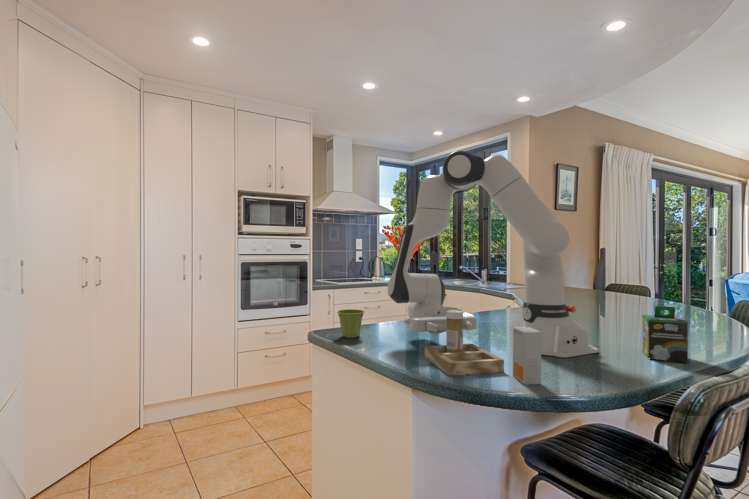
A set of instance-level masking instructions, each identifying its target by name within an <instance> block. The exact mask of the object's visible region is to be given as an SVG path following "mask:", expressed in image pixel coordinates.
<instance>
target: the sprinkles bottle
mask: <svg viewBox="0 0 749 499" xmlns="http://www.w3.org/2000/svg"><path fill="white" fill-rule="evenodd" d="M463 312H464V311H463ZM463 312H462V311H458V310H449V311H446V318H447V329H446V336H445V338H446V343H445V345H446V347H447V353H454V352H462V348H463V344H464V343H463V330H462V320H463Z"/></svg>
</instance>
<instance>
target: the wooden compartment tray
mask: <svg viewBox="0 0 749 499" xmlns="http://www.w3.org/2000/svg"><path fill="white" fill-rule="evenodd" d="M424 358H426V359H427V360H428V361H429V362H431V363H432V364H433V365H434V366H436V367H437V368H438V369H440V370H441V369H442V370H441V371H442V372H444V373H445V372H446V373H447V374H446V373H445V374H446V375H448V376H450V377H452V376H453V377H454V376H455V375H457V376H467V375H466V374H469V375H479V374H480V375H481V374H495V373H503V372H505V359H503V358H502V357H499V356H497V355H495V354H494V353H491V352H489V351H487V350H486V349H484V348H481V347H479V346H478V345H476V344H474V343H463V348H462V352H454V353H447V347H446V344H443V345H441V344H440V345H427V346H426V345H425V346H424Z"/></svg>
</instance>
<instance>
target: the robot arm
mask: <svg viewBox="0 0 749 499" xmlns="http://www.w3.org/2000/svg"><path fill="white" fill-rule="evenodd" d="M477 185H479V186H480V187H482V188H483V189H484V190H485V191H486V192H487V193H488V195H489V197H490V198H491V199H492V201H493V202H494V204H495V205H496V207H498V209H499V210H500V212H501V213H502V215H503V216H504V218H505V219H506V220H507V221H508V223H510V225H511V226H512V227H513V228H514V230H515V231H516V232H517V233H518V235H519V236H520V237H521V239H522V240H523V241H522V243H523V244H522V246H523V247H522V250H523V252H522V253H523V270H524V301H523V302H522V318H523V325H522V327H530V328H533V329H536V330H537V331H540V332H541V356H542V355H543V356H552V357H553V356H554V357H558V358H562V359H563V358H564V359H565V358H572V357H579V356H584V355H590V354H597V353H599V350H598V348H597V347H596V346H594V345H592V344H590V339H589V334H588V332H587V330H586V329H585V328H584V327H583V326H582V325H580V324H579V323H578V322H576V321H575V320H574V319H573V318H571V317H570V313H574V314H575V313H576V311H578V310H577V307H576V305H571V304H569V305H566V303H565V275H564V269H563V262H562V254H563V253H565V250H566V249H567V248H568V245H569V242H570V235H569V232H568V230H567V228H566V227H565V225H563V224H562V223H561V221H560V220H559V219H558V218H557V216H556V215H555V214H554V213H553V212H552V211H551V210H550V208H549V207H548V206H547V205H546V204H545V203H544V202H543V201H542V200H541V199H540V197H539V196H538V195H537V194H536V193H535V191H534V190H533V189H532V187H531V186H530V184H528V182H527V181H526V179H525V178H524V177H523V175H522V174H521V173H520V171H519V170H518V169H517V167H515V166H514V164H513V163H511V161H510V160H508V159H507V158H506V157H505V156H504V155H501V154H493V155H491V156H489V157H487V158H485V159H483V158H482V157H481V156H478V155H476V154H474V153H472V152H469V151H466V150H456V151H453V152H451V153H450V154H449V155H447V157H446V158H445V160H444V161H443V165H442V172H441V174H438V175H436V174H434V175H433V174H431V175H428V176H426V177H424V178H423V179H422V181H421V183H420V187H419V190H418V194H417V200H416V201H417V202H416V209H415V214H414V216H413V218H412V221H411V222H410V223H407V224H406V225H405V227H404V228H403V231H402V235H401V237H400V242H399V245H398V248H397V253H396V257H395V261H394V265H393V269H392V272H391V274H390V278H389V280H388V285H387V294H388V296H389V297H390V299H392V301H393V302H394V303H396V304H408V303H409V305H408V307H407V316H408V317H409V318H407V319H405V320H404V323H405V324H406V325H407V324H408V326H409V327H408V328H409V329H410V330H411V331H412V332H415V333H420V332H421V333H423V332H424V333H425V332H428V333H429V334H432V335H439V334H441V333H445V332H446V329H447V318H446V311H449V310H458V311H462V308H459V307H452V306H451V307H450V306H448V307H446V306H443V305H444V303H445V302H444V301H445V299H446V287H445V283H444V282H443V280H442V278H441V277H440V276H439V275H438V274H436V273H416V272H408V271H409V267H410V264H411V259H412V254H413V251H414V248H415V247H416V246H417V245H418V244H419V243H421V242H423V241H425V240H429V239H432V238H436V237H438V236H439V235H441V234H442V233H444V232H445V231H446V229H447V228H448V226H449V223H450V218H451V217H450V216H451V207H452V206H451V204H452V198H453V195H455V194H460V193H464V192H467V191H470V190H472V189H474V188H475V187H476V186H477ZM462 312H463V320H462V331H473V330H476V329H477V327H478V317H477V316H475V315H474V314H472V313H469V312H466V311H464V310H463V311H462ZM569 312H570V313H569Z"/></svg>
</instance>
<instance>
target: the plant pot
mask: <svg viewBox="0 0 749 499" xmlns="http://www.w3.org/2000/svg"><path fill="white" fill-rule="evenodd" d="M336 312H337V314H338V318H339V323H340V332H341V337H343V338H347V339H350V338H351V339H355V338H357V337H358V338H359V337H360V334H361V328H362V320H363V317H364V313H365V312H366V311H365V310H363V309H362V310H361V309H351V308H349V309H348V308H346V309H339V310H337V311H336Z"/></svg>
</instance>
